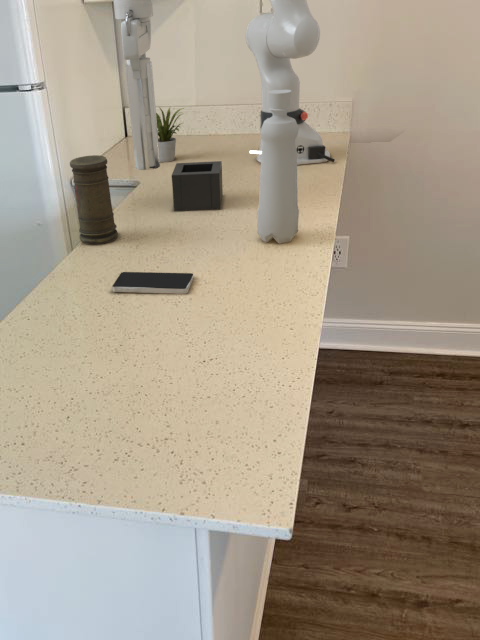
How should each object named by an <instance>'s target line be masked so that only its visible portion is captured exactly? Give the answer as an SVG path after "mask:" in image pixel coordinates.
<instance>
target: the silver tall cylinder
mask: <svg viewBox="0 0 480 640" xmlns="http://www.w3.org/2000/svg"><path fill="white" fill-rule="evenodd" d="M124 67H125V68H124V69H125V78H126V79H125V80H126V88H127V96H128V97H127V98H128V106H129V107H128V108H129V117H130V126H131V136H132V144H133V156H134V164H135V165H134V167H135V169H136V170H138V171H152V170H156V169H159V168H160V167H161V162H160V155H159V143H158V138H159V136H158V132H159V131H157V130H158V128H157V119H156V113H157V109H156V96H155V85H154V83H155V82H154V73H153V62H152V61H151V57H148V56H146V57H141V58H140V70H141V78H140V79H134V78H133V73H132V68H131V65H130V60H126V63H125V64H124Z"/></svg>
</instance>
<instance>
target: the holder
mask: <svg viewBox="0 0 480 640" xmlns="http://www.w3.org/2000/svg"><path fill="white" fill-rule="evenodd" d="M171 187H172V201H173V203H172V204H173V211H174V212H189V211H212V210H214V211H215V210H216V211H217V210H222V209H221V208H222V202H223V196H224V195H223V193H224V191H223V162H222V160H218V161H195V162H192V161H191V162H176V164H175V166H174V168H173V172H172V173H171Z"/></svg>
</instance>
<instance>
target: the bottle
mask: <svg viewBox="0 0 480 640" xmlns="http://www.w3.org/2000/svg"><path fill="white" fill-rule="evenodd" d="M291 92H292V91H291V90H273V91H269V103H270V108H269V110H271V112H272V114H273V116H272V117H270V118H268V119H266V120H265V121H264V123H263V125H262V127H261V129H259V133H260V139H261V138H262V140H263V142H264V143H263V148H262V153H261V162H260V170H259V171H260V172H259V192H258V193H259V194H258V197H259V198H258V207H257V208H258V209H257V211H256V219H257V220H256V221H257V223H256V225H257V226H256V227H257V228H256V229H257V231H256V232H257V233H256V234H257V235H258V236H259V238H260V239H261V241H262V242H264V243H269V242H272V240H273V239H274V240H275V241H276V242H277V243H278V244H286V243H290V242H291V241H292V239H294V238H295V236H296V234H297V233H298V231H299V215H300V209H299V204H298V201H299V200H298V165H297V150H296V144H295V139H296V137H297V135H298V131H299V127H298V125H297V122H296V120H295V119H294V118H291V117H289V116H287V112H288V110H289V109H291V107H290V100H291Z"/></svg>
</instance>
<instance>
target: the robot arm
mask: <svg viewBox="0 0 480 640" xmlns="http://www.w3.org/2000/svg"><path fill="white" fill-rule="evenodd" d="M269 2H270V5H271V8H272V12H267V13H262V14H260V15H257V16H255V17H253V18H251V20H250V21H249V23H248V25H247V27H246V29H245V42H246V45H247V47H248V49H249V50H250V51H251V53H252V55H253V56H254V59H255V61H256V65H257V68H258V72H259V78H260V83H261V84H260V85H261V110H260V114H259V130H261V127H262V125H263V123H264V121H265V120H266V119H268V118H270V117H272V116H273V114H272V112H271V110H269V108H270V103H269V91H273V90H291V91H292V92H291V100H290V107H291V109H289V110H288V112H287V116H289V117H291V118H294V119H295V120H296V122H297V125H298V127H299V131H298V135H297V137H296V139H295V144H296V150H297V166H299V165H308V164H309V165H310V164H318V163H319V164H320V163H326V162H328V161H330V162H331V163H334V162H335V159H334V158H332V157H331V153H330V151H328V150H327V149H326V146H325V145H324V142H323V138H322V135H321V134H320V133H319V132H318V131H317V130H316V129H314V128H313V127H312V126H310V124H308V123H307V122H306V120H307V119H308V117H309V116H308V115H309V114H308V112H306V111H305V110H304V109H302V108H300V91H301V90H300V87H301V85H300V84H301V81H300V78H299V76H298V75H297V73H296V72H295V70H294V68H293V66H292V63H291V59H292V60H297V59H302V58H305V57H309V56H310V55H312V54H313V53H314V52H315V50H316V49H317V47H318V45H319V42H320V38H321V29H320V25H319V23H318V21H317V20H316V19H315V18H314V16H313V15H312V13H311V10H310V8H309V4H308V2H307V0H269ZM113 9H114V10H113V11H114V18H115V20H118V21H120V23H121V24H120V25H121V26H120V31H121V32H120V33H121V34H120V35H121V46H122V56H123V59H124V60H126V61H127V60H130V65H131V68H132V73H133V78H134V79H140V78H141V70H140V58H141V57H147V52H148V51H150V49H151V43H152V42H151V41H152V40H151V39H152V37H151V31H152V30H151V18H152V17H153V16H154V7H153V0H113ZM263 143H264V142H263V140H262V138H261V137H260V139H259V147H258V150H249V154H256V155H257V156H256V162H258V163H261V153H262V148H263Z"/></svg>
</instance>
